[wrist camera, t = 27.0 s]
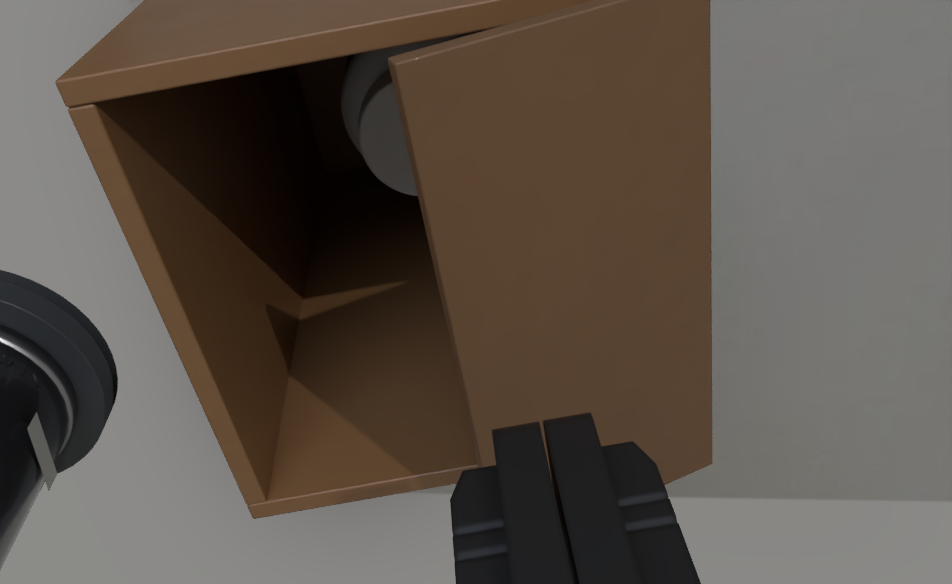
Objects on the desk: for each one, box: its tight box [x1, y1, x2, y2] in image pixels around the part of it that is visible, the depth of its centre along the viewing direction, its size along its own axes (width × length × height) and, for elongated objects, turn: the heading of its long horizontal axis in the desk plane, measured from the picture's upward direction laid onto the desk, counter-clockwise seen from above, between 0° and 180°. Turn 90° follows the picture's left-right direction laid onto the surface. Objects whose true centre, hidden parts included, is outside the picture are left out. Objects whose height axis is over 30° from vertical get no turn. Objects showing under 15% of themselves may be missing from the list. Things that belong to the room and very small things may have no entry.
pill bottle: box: [341, 30, 484, 196], centre depth 29 cm, size 5×5×10 cm
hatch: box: [388, 0, 712, 485], centre depth 15 cm, size 5×11×1 cm, turn 9°
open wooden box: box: [56, 0, 593, 519], centre depth 25 cm, size 11×11×20 cm
